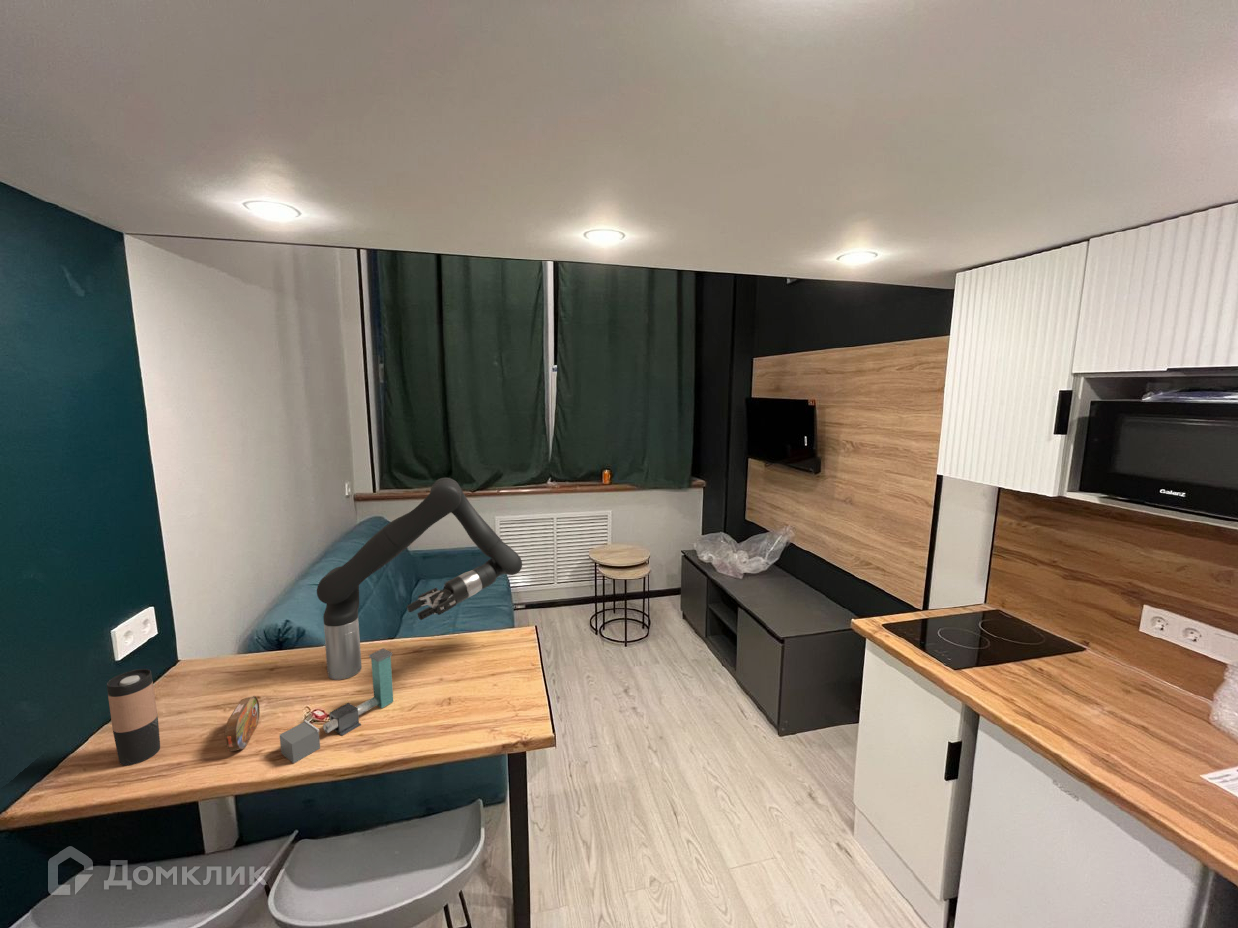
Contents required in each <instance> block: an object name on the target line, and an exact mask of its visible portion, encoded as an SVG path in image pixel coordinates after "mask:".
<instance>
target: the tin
mask: <svg viewBox="0 0 1238 928" xmlns="http://www.w3.org/2000/svg"><path fill="white" fill-rule="evenodd" d="M260 715H261V714H260V702H259V700H258V697H257V696H255V695H253V696H250V697H246V698H241V700H240V701H239V702H238V703H237V705H236V707H235V708H234V710H233V711H232V713H231V714H230V716H229V718H228V719H227V722H226V724H225V729H224V739H225V744H226V749H227V750H228V751H230V752H235V751H238V750H244V749H245V748H246V747H247V745H248V744H249V742H250V740H251V738H252V736H253V734H254V733H255V731H256V729H257V727H258V724H259V722H260Z"/></svg>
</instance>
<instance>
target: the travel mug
mask: <svg viewBox="0 0 1238 928" xmlns="http://www.w3.org/2000/svg"><path fill="white" fill-rule="evenodd" d="M154 687H155V686H154V682H153V676H152V671H151V669H147V668H143V669H142V668H140V669H133V670H129V671H126V672H123V673H121V674H118V675H115V676H114V677H112V678H111V679H109V680H108V681H107V683H106V691H107V697H108V698H107V699H108V705H109V713H110V719H111V726H112V727H111V728H112V733H113V738H114V742H115V748H116V754H117V758H118V761H119V764H120V765H122V766H133V765H137V764H140V763H142V762H145V761H147V760H149V759H150V758H152V757H154V756H156V754H158V753H159V752H160V749H161V739H160V738H161V737H160V726H159V716H158V714H159V713H158V708H157V701H156V694H155V689H154Z"/></svg>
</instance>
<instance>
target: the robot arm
mask: <svg viewBox="0 0 1238 928" xmlns="http://www.w3.org/2000/svg"><path fill="white" fill-rule="evenodd" d="M430 487H431V488H430V491H429V494H428V495H427V496H426V497H425V498H424V499H423V500H422V501H421V502H420V503H419V504H418V505H417V506H416V507H414V508H413V509H412V510H411V511H409V512H407V513H406V514H405V513H404V514H403V515H401V516H399V517H397V518H395V519H394V520H392V521H390V522H389V523H387V524H386V525H384V526H383V527H382V528H381V529H380V530H379V531H377V532H376V533H375V534H373V536H372V537H371V538H370V539H368V541H367V542H365V544H363V546H362V547H361V548H360V549H359V550H358V551H357V552H356V554H354V556H352V558H350V559H349V560H348V561H347V562H345V563H343V565H340V566H337V567H334V568H333V569H331V570H329V572H327V574H326V575H324V576H323V577H322V578H321V580H320V581H319V583H318V585H317V587H316V595H317V598H318V600H319V601H320V602H322V603H323V604H326V605H325V606H326V607H325V610H324V612H323V617H322V618H323V629H324V641H325V646H324V648H325V659H326V669H327V670H326V671H327V676H328V678H329V679H331V680H338V681H339V680H345V679H348V678H351V677H354V676H356V675H357V674H359V673H360V672H361V671H362V657H361V656H362V653H361V641H360V637H361V636H360V625H359V608H360V585H361V584H362V583H363V582H364V581H366V579H367V578H368V577H369V576H372V574H374V573H375V572H377V571H379V570H380V569H382V568H383V567H384V566H385V565H387V564H389V563H390V562H392V561H393V560H394V559H395V558H396V557H398V556H399V555H400V554H401V553H403V551H405V550H406V549H407V548H408V547H410V546H411V545H412V544H413V543H414V542H415V541H416V540H418V539H419V538H420V537H421V536H422V535H423V534H424V533H425V532H426V531H427V530H428V529H429V528H431V527H432V526H434V525H435V524H436V523H438V522H439V521H440V520H442V519H444V518H445V517H446V516H448V515H449V514H452V515H453V516H454V517H455V518H456V519H457V520H458V522H459V524H461V526H462V527H463V529H464V530H465V532H466V533H467V535H468V537H469V539H471V540H472V542H473V544H474V545H475V546H476V547H477V548H478V549H479V550H480V552H482V553H483V554H484V555H485V556H486V557H487V558H490V559H487V561H486V562H485V563H484V564H481V565H479V566H477V567H475V568H473V569H472V570H469V571H466V572H463V573H462V574H459V575H457V576H456V577H453V578H452V579H449V580H447V581H445V583H444V585H443V589H439V590H438V588H437V587H434V588H432V589H430V590H428V591H426V592H424V593H421V594H419V595H418V596H417V597H418V599H417V600H415V601H413V602H411V603H409V604H407V605H406V609H407V612H408V613H412V612H414V611H416V610H418V609H420V608H422V607H424V606H428V607H426V608H424V609H423V610H421V611H419V612H417V617H418V619H419V620H420V621H423V620H424V619H426V618H428V617H429V616H432V615H436V614H437V616H440V615H441V614H444V613H446V612H447V611H449V610H451V609H452V608H454V607H456V606H457V604H460V603H462V602H463V601H465V600H467V599H469V598H471V597H472V596H474V595H476V594H477V593H478V592H481V591H482V590H484V589H486V588H487V587H489V586H492V585H493V584H495V582H496V581H497V578H499V577H500V576H502V575H509V576H513V575H514V576H515V575H517V574H519V572H521V570H522V568H523V562H522V558H521V557H520V555H519V553H517V552H516V551H515V550H514V549H513V548H512V547H510V546H509V545H508V544H507V543H505V542H504V541H503V540H502V539H501V537H500V536H499V535H498V534H497V533H496V532H495V531H494V530H493V529H492V527H490V525H489V524H488V523H487V522H486V521H485V520H484V518H483V517H482V516H481V515H480V514H479V513H478V511H477V510H476V509H475V508H474V506H473V505H472V504H471V502H470V500H469V499H468V498H467V496H466V495H465V493H464V492H463V490H462V488H461V486H460V484H459V483H458V482H457V481H456V480H454V479H453V478H451V477H441V478H438V479H437V480H435V481H434V483H433V484H432V485H431V486H430Z"/></svg>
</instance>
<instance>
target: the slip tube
mask: <svg viewBox="0 0 1238 928" xmlns="http://www.w3.org/2000/svg"><path fill="white" fill-rule="evenodd" d="M392 656H393V652H392V651H390V650H388V649H386V648H381V649H378V650H377V651H375V652H373V653H370V654H368V658H369V659H370V660H371V674H372V675H371V676H372V691H373V697H371V698H369V699H367V700H366V701H364V702H362V703H360V704H359V705H357V706H355V707H356V708H358V717H360V715H362V714H364V713H366V712H367V711H369V710H372V709H373V708H375V707H378V708H381V709H383V708H384V707H387V706H388V705H390V704H392V703H393V702H394V694H393V693H394V690H393V677H392V676H393V675H392V672H393V671H392V659H391V658H392ZM337 727H338V720H337V719H335V718H334V719H332V720H331V721H330V720H329V721H327V722H325V723H323V725H322V729H323V730H324V731H323V732H324V733H326V734H329V733H330V732H332V731H334V729H336V728H337Z"/></svg>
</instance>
